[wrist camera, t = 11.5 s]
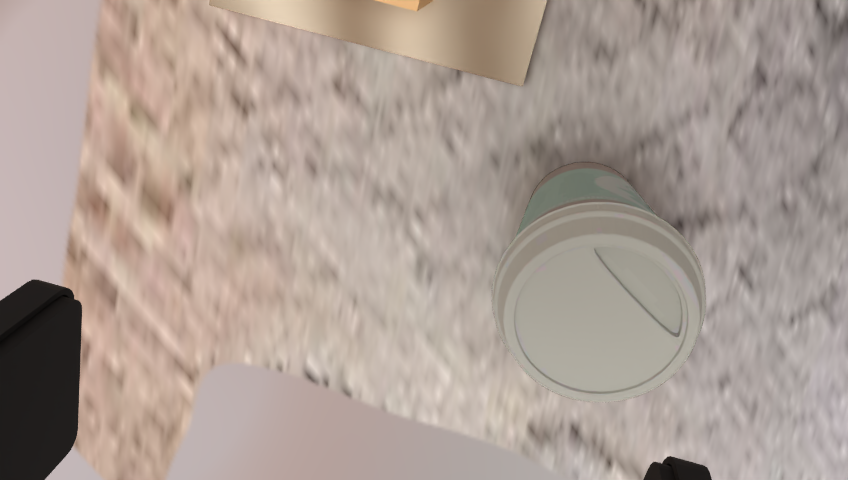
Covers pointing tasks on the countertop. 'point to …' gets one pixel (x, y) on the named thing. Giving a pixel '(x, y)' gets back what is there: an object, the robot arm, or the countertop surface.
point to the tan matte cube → (408, 3)
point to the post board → (420, 29)
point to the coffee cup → (597, 289)
